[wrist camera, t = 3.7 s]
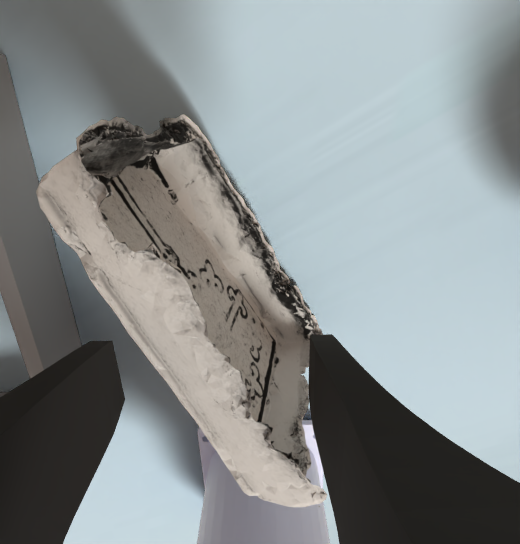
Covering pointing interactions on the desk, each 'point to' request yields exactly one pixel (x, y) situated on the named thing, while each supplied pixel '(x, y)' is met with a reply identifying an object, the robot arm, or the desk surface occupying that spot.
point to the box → (29, 249)
